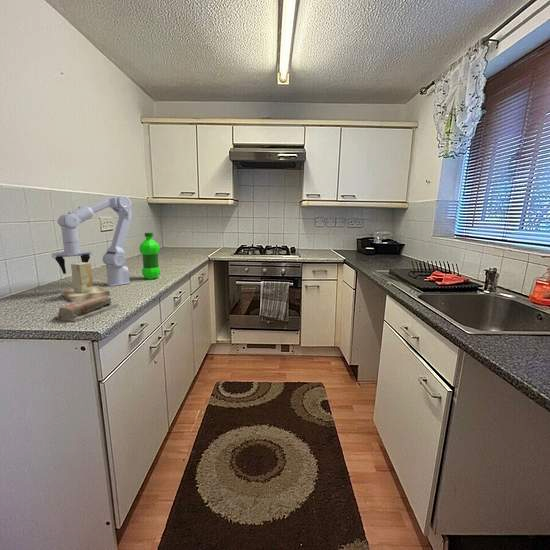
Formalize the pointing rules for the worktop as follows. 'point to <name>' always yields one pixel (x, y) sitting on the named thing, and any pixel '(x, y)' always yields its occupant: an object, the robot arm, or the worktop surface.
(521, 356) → the worktop surface
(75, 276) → the skincare box
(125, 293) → the worktop surface
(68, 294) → the wooden base
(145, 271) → the plastic bottle
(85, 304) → the brown rectangular block
